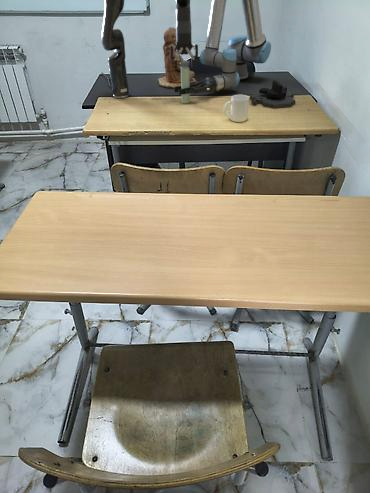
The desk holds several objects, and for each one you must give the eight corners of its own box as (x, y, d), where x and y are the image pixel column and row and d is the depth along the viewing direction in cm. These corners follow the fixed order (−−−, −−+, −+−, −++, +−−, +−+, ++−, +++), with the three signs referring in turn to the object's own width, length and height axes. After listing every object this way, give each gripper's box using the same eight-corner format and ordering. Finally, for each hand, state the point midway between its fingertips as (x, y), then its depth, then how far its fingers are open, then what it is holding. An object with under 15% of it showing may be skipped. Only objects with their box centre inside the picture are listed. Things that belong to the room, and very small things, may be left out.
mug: (224, 123, 170) (225, 101, 163) (221, 117, 176) (221, 95, 170) (249, 121, 171) (251, 99, 165) (244, 115, 177) (246, 93, 171)
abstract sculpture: (259, 90, 177) (247, 79, 193) (257, 109, 183) (245, 97, 198) (307, 86, 180) (291, 76, 195) (303, 105, 186) (288, 93, 201)
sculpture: (197, 88, 213) (196, 30, 194) (156, 89, 214) (152, 31, 194) (196, 75, 234) (196, 22, 215) (159, 76, 235) (156, 23, 215)
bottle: (180, 101, 197) (179, 63, 184) (187, 100, 198) (187, 62, 186) (183, 104, 193) (182, 65, 181) (191, 102, 195) (190, 64, 182)
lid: (178, 66, 183) (178, 62, 182) (182, 64, 186) (182, 60, 185) (187, 67, 181) (187, 63, 180) (191, 64, 185) (191, 60, 184)
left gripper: (169, 33, 170) (170, 70, 181) (199, 32, 171) (198, 69, 181) (168, 30, 176) (170, 66, 187) (197, 29, 177) (197, 65, 187)
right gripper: (222, 95, 194) (184, 103, 186) (205, 86, 206) (169, 94, 198) (222, 80, 189) (184, 87, 181) (205, 72, 201) (168, 79, 193)
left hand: (184, 67), depth 184 cm, fingers open, 7 cm apart
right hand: (176, 91), depth 189 cm, fingers closed on bottle, 5 cm apart
